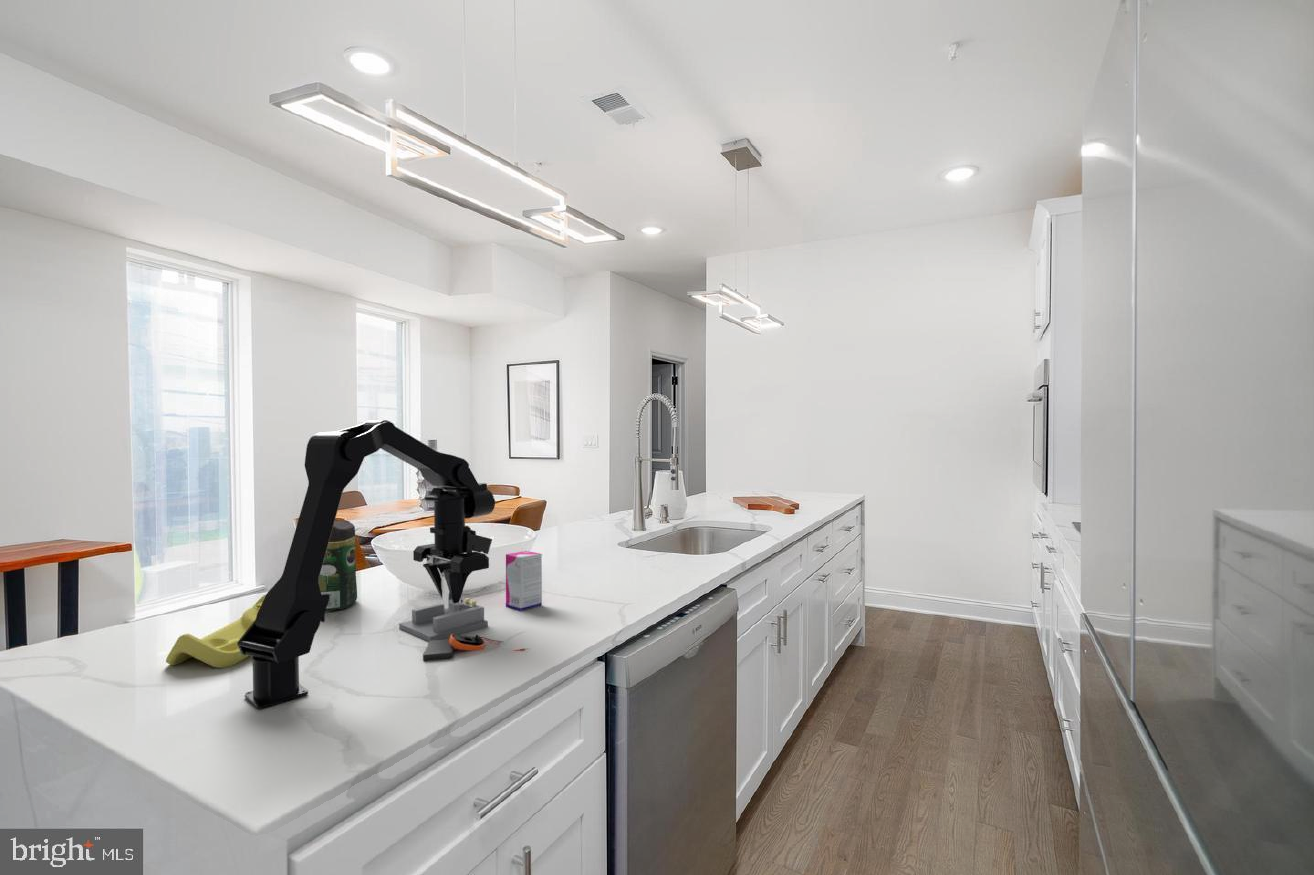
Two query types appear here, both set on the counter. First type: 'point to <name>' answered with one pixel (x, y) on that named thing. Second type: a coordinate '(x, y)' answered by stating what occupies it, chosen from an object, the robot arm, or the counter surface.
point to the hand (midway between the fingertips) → (450, 600)
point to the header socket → (444, 621)
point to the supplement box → (523, 580)
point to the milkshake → (448, 597)
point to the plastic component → (216, 643)
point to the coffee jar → (339, 567)
